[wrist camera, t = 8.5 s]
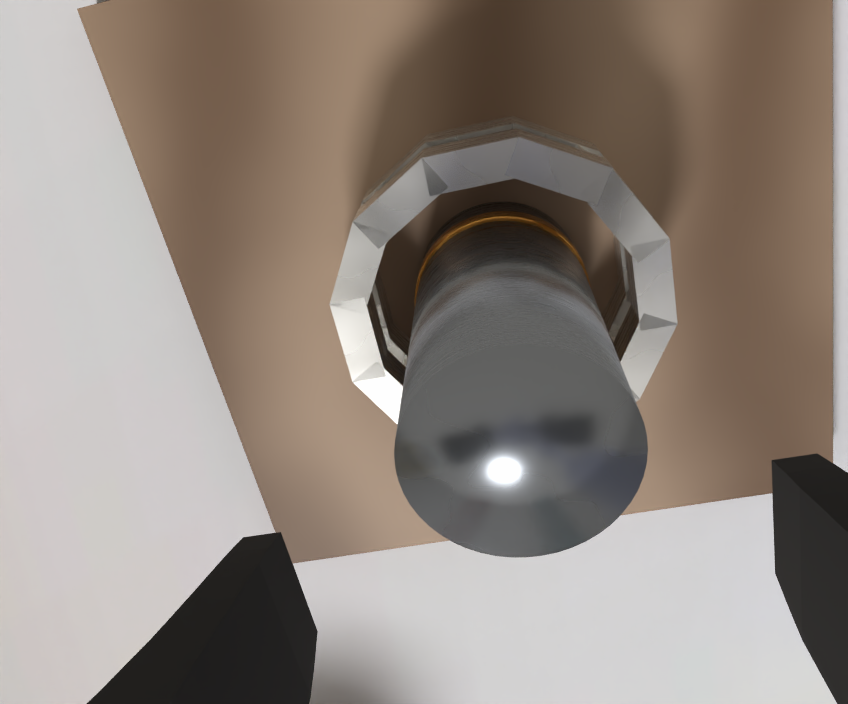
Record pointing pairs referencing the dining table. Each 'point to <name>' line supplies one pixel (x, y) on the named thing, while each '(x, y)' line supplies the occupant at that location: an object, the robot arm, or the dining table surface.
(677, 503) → the collar board
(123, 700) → the robot arm
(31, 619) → the dining table surface
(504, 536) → the tube
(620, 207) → the collars
